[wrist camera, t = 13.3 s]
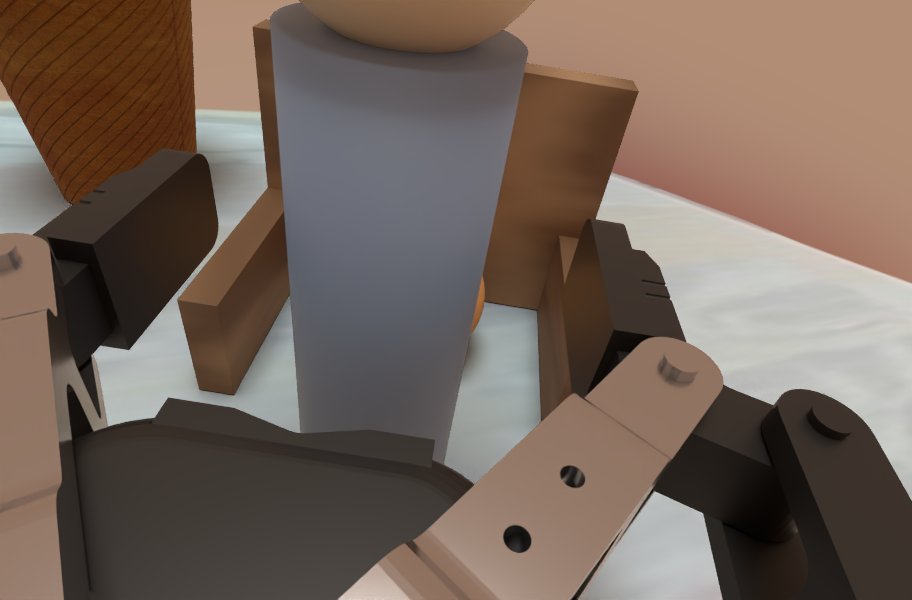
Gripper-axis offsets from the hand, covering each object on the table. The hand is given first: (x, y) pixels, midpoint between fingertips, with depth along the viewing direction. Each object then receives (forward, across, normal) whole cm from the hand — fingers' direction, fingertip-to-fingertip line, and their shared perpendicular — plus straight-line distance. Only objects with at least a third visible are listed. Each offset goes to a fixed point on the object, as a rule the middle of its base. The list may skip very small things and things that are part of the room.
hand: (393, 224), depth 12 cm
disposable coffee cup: (+14, +16, +9) cm, 23 cm away
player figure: (-1, 0, +9) cm, 9 cm away
